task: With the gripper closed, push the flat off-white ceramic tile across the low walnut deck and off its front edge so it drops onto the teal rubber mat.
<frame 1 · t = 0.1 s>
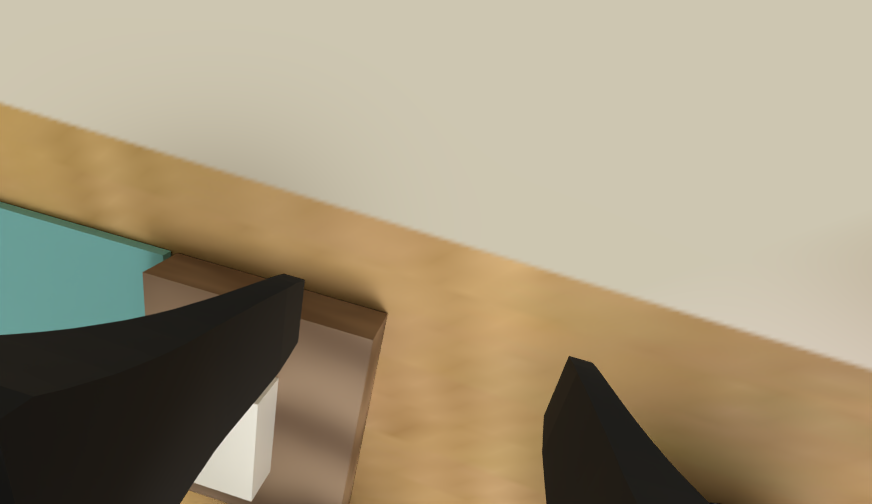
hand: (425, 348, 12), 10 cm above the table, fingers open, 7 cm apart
walnut deck: (271, 389, 27), on the table
teal mat: (74, 328, 28), on the table
ceramic tile: (223, 411, 25), point 2 cm above the table, touching walnut deck
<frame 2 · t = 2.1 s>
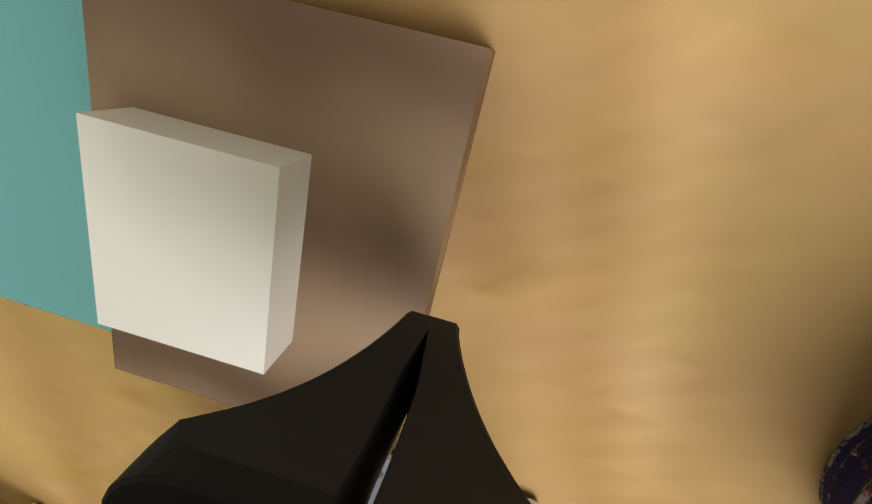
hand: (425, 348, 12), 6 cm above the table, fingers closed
walnut deck: (293, 221, 18), on the table
ceramic tile: (218, 232, 15), point 2 cm above the table, touching walnut deck
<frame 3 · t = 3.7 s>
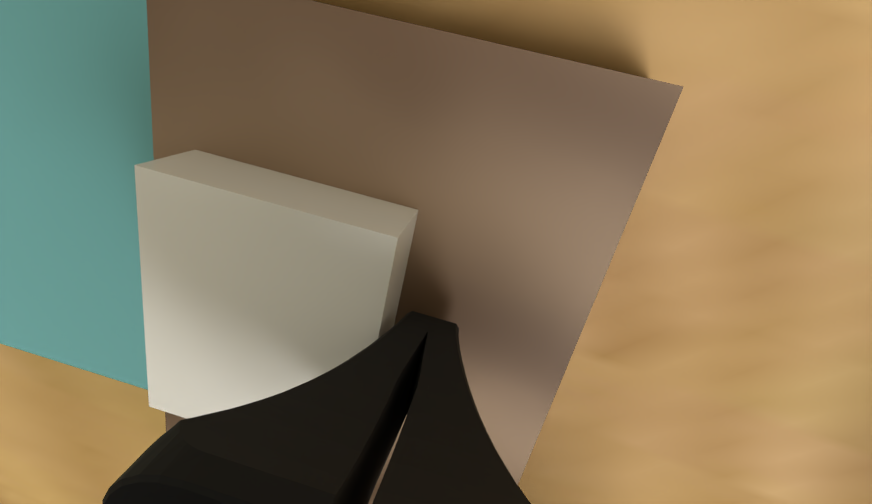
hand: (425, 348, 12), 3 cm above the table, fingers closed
walnut deck: (379, 276, 15), on the table
teal mat: (24, 177, 16), on the table
ceramic tile: (293, 296, 13), point 3 cm above the table, touching gripper, walnut deck
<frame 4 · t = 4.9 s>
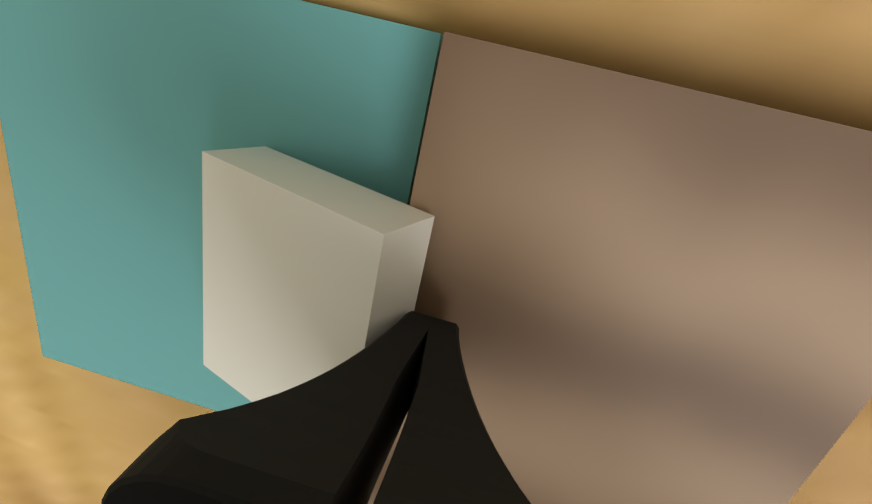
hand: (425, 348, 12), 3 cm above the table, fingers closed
walnut deck: (586, 334, 14), on the table
teal mat: (205, 227, 15), on the table
ceramic tile: (327, 289, 13), point 2 cm above the table, tilted 21°, touching teal mat, walnut deck
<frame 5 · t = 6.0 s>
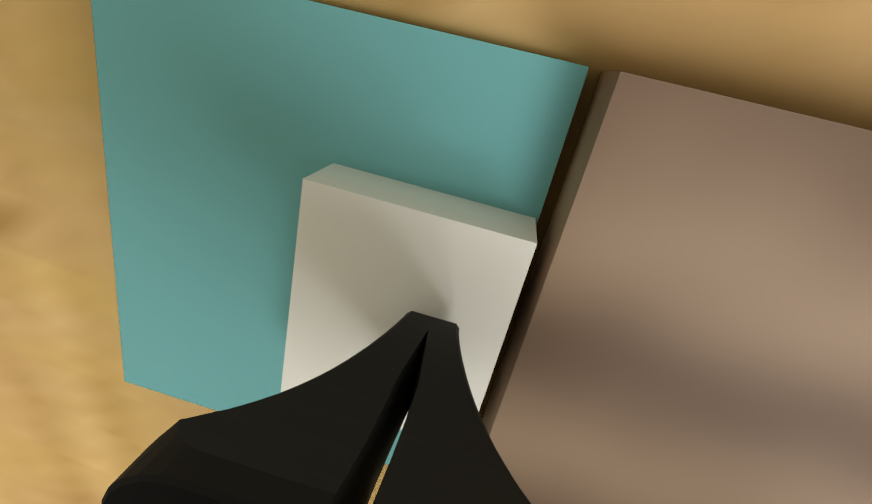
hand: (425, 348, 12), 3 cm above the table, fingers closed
walnut deck: (704, 368, 14), on the table
teal mat: (308, 255, 15), on the table
ceramic tile: (408, 294, 14), point 1 cm above the table, touching teal mat
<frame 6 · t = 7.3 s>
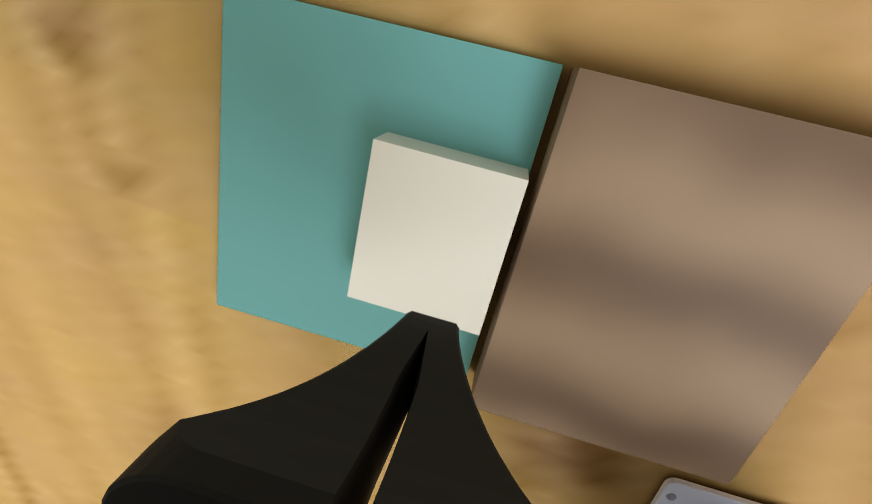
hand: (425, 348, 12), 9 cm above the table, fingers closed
walnut deck: (649, 279, 20), on the table
teal mat: (363, 201, 21), on the table
ceramic tile: (438, 227, 20), point 1 cm above the table, touching teal mat
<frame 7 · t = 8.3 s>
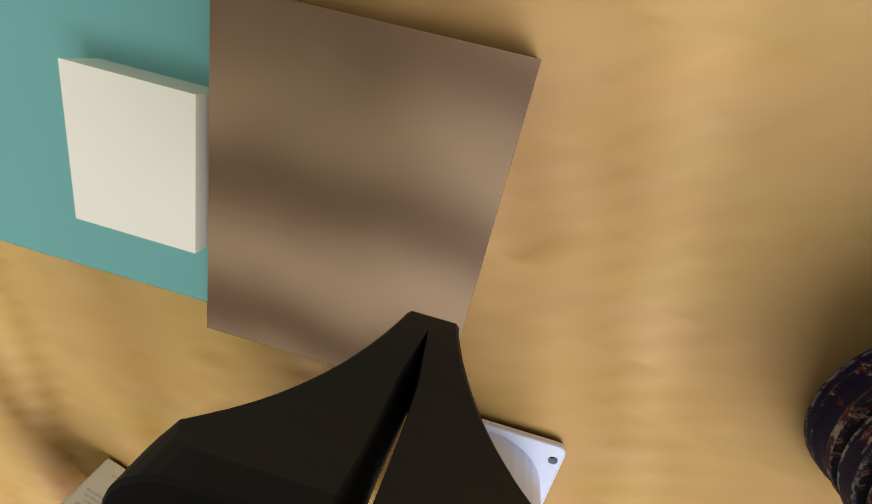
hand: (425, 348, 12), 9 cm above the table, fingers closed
walnut deck: (362, 202, 21), on the table
teal mat: (104, 132, 22), on the table
skincare box: (140, 490, 33), on the table
ceramic tile: (164, 153, 21), point 1 cm above the table, touching teal mat
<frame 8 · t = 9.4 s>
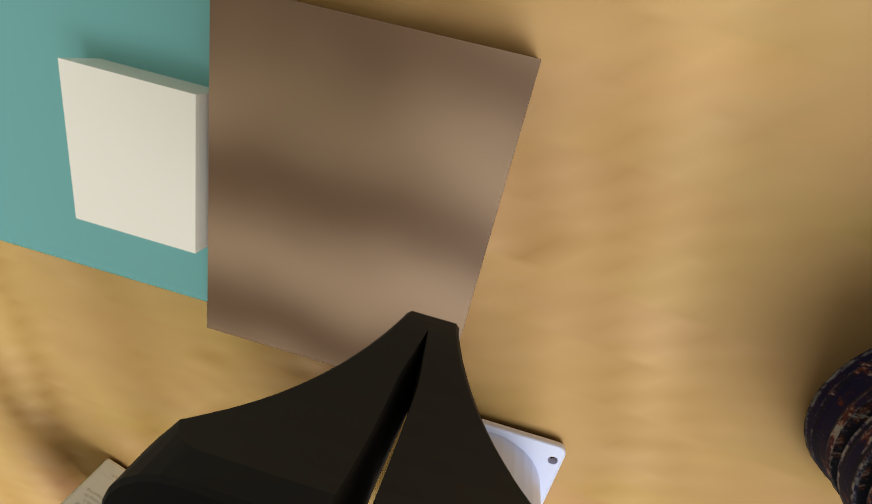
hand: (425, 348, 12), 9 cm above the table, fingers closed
walnut deck: (362, 202, 21), on the table
teal mat: (104, 132, 22), on the table
skincare box: (140, 490, 33), on the table
ceramic tile: (164, 153, 21), point 1 cm above the table, touching teal mat
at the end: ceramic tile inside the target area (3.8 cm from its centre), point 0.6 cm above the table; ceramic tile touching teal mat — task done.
